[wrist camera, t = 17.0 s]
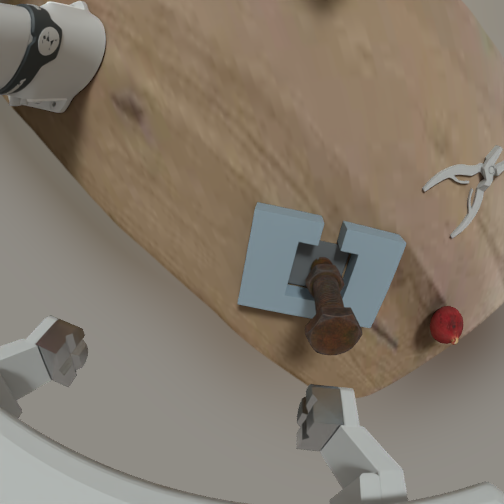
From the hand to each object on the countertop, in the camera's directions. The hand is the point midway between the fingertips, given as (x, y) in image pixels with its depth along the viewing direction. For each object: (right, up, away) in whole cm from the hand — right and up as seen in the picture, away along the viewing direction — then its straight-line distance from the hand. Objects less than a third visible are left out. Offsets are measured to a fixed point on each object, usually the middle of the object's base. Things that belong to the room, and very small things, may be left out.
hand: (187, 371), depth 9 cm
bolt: (+12, +2, +32) cm, 34 cm away
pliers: (+34, +14, +25) cm, 44 cm away
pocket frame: (+12, +2, +32) cm, 34 cm away
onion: (+33, -6, +33) cm, 48 cm away
